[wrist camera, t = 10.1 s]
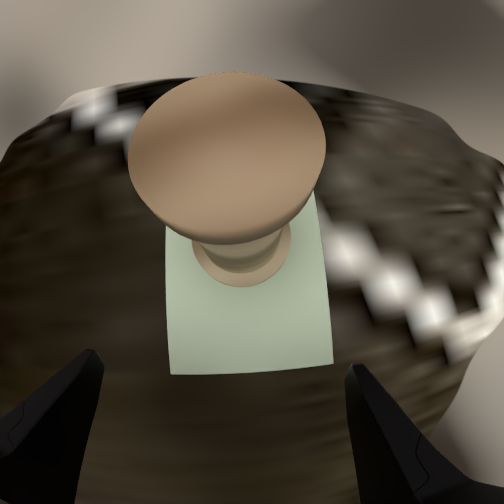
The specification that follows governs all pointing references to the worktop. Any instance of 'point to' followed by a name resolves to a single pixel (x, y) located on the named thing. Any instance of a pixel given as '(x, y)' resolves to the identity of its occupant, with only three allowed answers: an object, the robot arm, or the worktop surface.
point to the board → (250, 310)
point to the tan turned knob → (229, 169)
